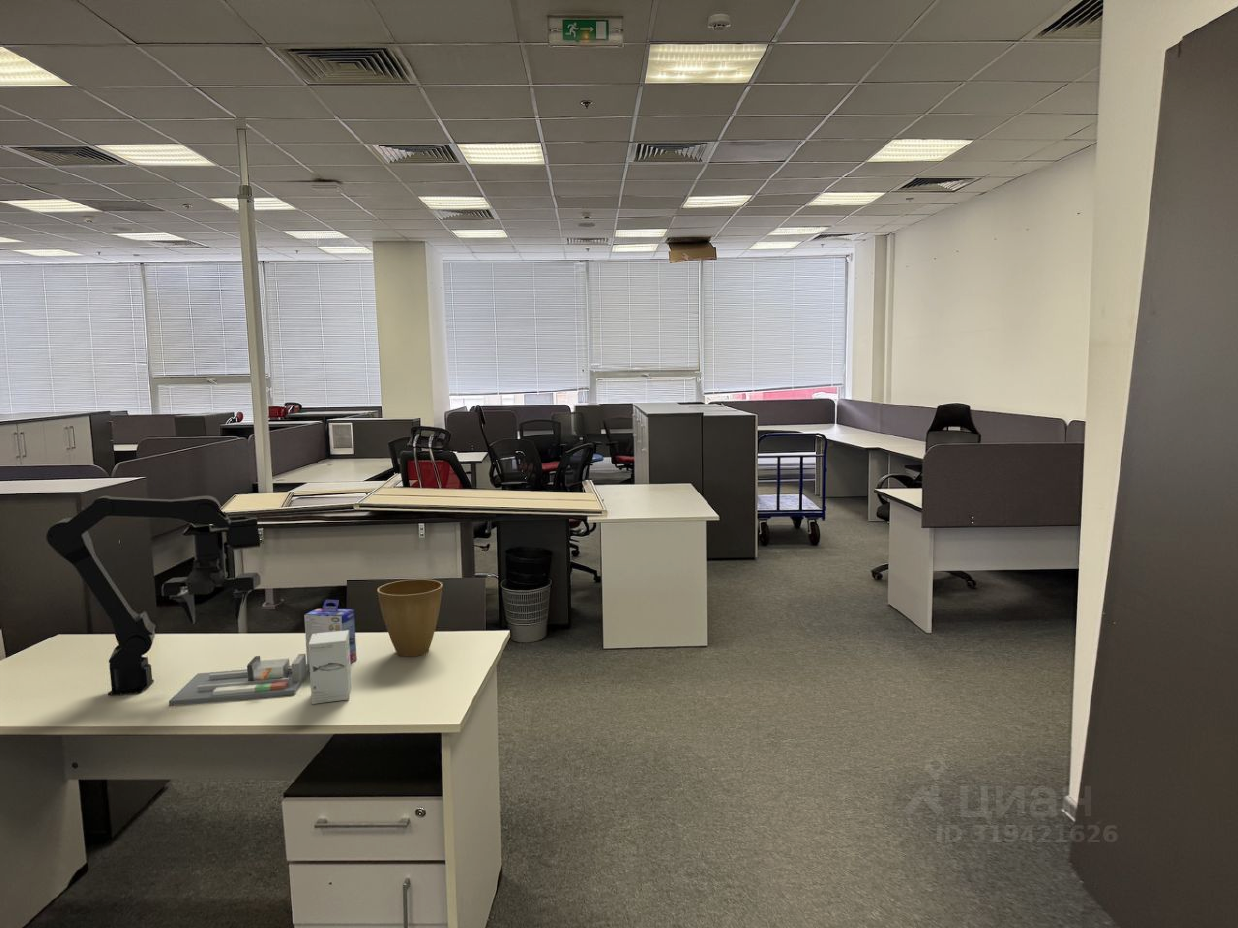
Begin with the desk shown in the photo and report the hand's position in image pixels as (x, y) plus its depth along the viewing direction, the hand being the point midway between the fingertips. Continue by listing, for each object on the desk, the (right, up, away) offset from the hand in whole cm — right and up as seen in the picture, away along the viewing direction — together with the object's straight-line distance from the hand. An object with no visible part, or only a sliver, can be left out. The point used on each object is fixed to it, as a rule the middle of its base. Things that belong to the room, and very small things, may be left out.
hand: (215, 621), depth 166 cm
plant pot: (+41, -10, +12) cm, 44 cm away
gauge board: (+10, -12, -6) cm, 17 cm away
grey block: (+15, -11, -7) cm, 20 cm away
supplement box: (+31, -13, -13) cm, 36 cm away
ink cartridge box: (+24, -11, +6) cm, 27 cm away
